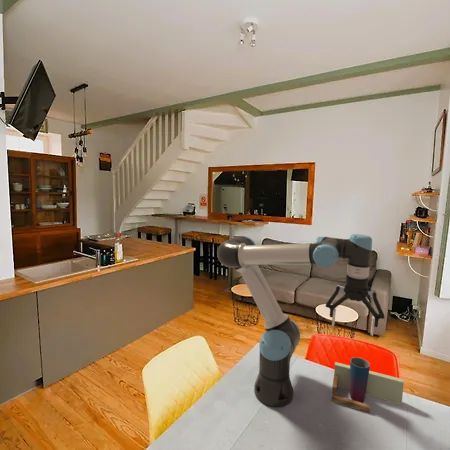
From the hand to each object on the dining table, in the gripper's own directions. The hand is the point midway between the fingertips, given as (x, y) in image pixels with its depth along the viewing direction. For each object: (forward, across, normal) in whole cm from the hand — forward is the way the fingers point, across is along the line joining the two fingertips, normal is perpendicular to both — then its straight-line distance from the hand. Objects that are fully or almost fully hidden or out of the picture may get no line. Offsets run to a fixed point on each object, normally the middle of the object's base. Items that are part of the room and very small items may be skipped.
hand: (351, 329), depth 108 cm
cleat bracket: (+27, +2, -2) cm, 27 cm away
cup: (+27, +4, -1) cm, 27 cm away
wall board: (+27, +7, +4) cm, 28 cm away
